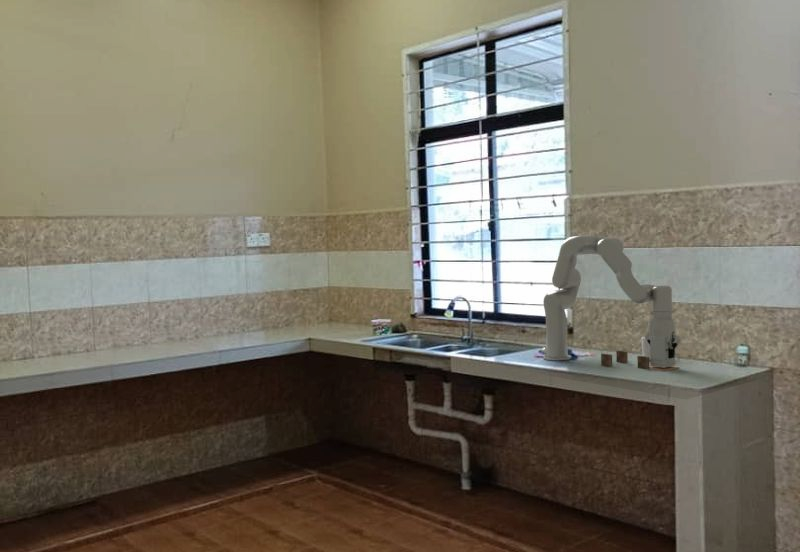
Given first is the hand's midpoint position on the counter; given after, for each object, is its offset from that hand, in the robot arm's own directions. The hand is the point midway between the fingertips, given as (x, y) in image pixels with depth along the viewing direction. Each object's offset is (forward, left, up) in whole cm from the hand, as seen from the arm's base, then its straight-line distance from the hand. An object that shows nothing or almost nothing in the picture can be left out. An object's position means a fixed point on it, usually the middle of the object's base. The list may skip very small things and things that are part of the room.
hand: (662, 356), depth 319 cm
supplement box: (0, 0, -4) cm, 4 cm away
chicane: (-13, -2, -5) cm, 14 cm away
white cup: (-16, +15, -5) cm, 23 cm away
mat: (0, 0, -5) cm, 5 cm away
